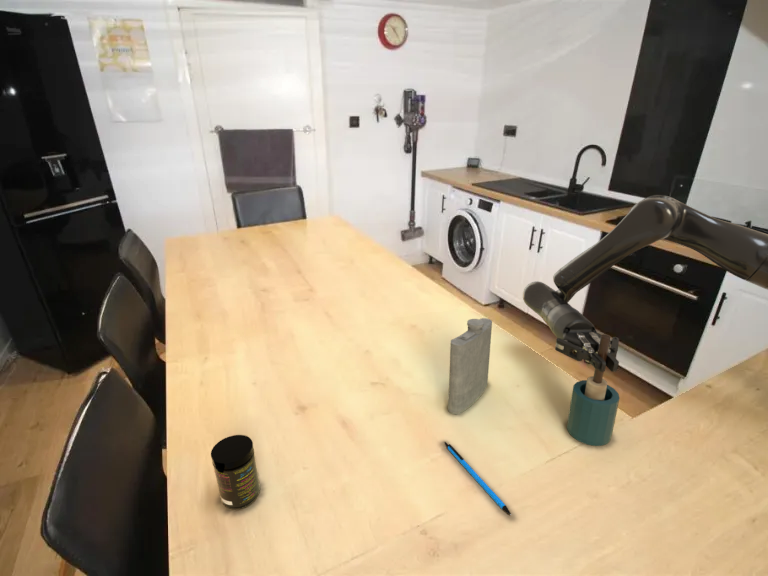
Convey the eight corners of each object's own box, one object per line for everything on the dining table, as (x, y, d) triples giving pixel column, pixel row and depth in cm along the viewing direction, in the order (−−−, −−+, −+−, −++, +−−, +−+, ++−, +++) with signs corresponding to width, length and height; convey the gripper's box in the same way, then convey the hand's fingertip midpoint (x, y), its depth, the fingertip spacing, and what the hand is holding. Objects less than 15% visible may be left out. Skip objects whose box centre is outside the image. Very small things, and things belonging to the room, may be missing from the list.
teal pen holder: (598, 418, 89) (605, 379, 85) (618, 445, 81) (628, 403, 78) (560, 419, 89) (566, 380, 85) (577, 446, 81) (584, 404, 78)
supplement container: (268, 485, 74) (260, 438, 71) (245, 516, 68) (236, 467, 65) (237, 476, 76) (228, 431, 73) (212, 506, 70) (201, 458, 67)
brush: (597, 400, 85) (610, 331, 79) (605, 411, 81) (620, 340, 76) (579, 401, 85) (591, 332, 79) (587, 412, 81) (601, 340, 76)
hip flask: (477, 379, 104) (482, 307, 97) (492, 384, 102) (498, 311, 95) (445, 410, 93) (448, 331, 86) (461, 417, 90) (465, 337, 83)
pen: (446, 443, 83) (447, 439, 83) (513, 516, 67) (513, 511, 67) (443, 445, 83) (443, 440, 82) (509, 518, 67) (509, 513, 66)
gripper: (541, 312, 91) (575, 350, 75) (602, 310, 91) (650, 349, 75) (537, 341, 94) (570, 385, 78) (597, 340, 94) (642, 383, 77)
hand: (609, 367), depth 76 cm, fingers closed on brush
